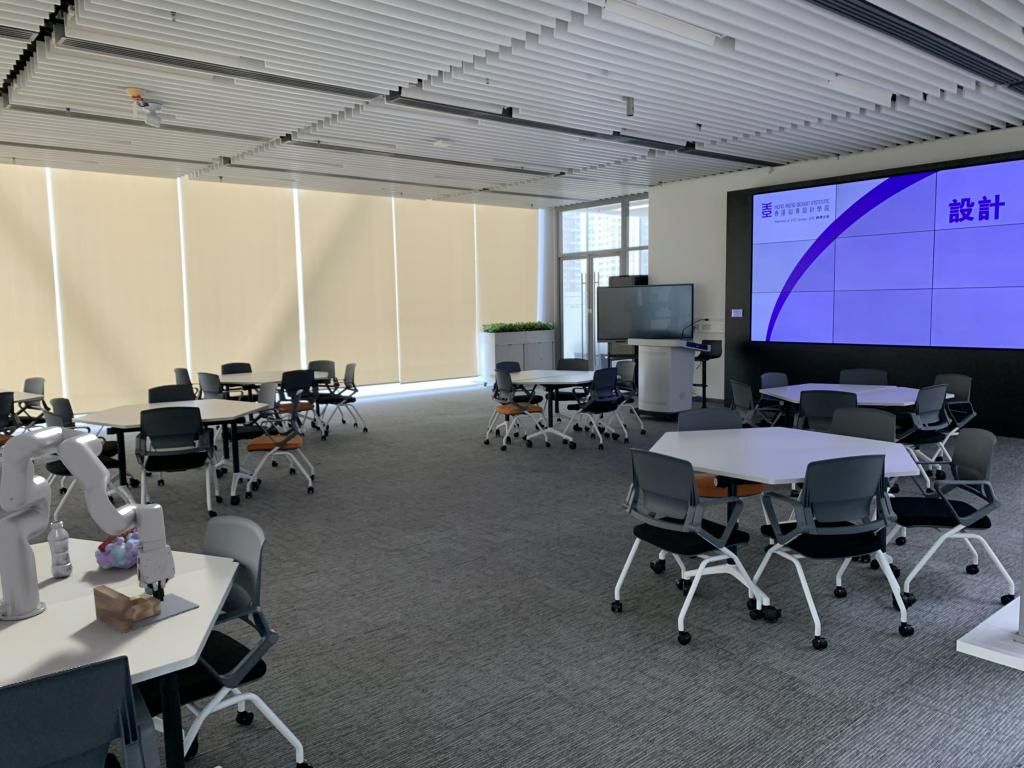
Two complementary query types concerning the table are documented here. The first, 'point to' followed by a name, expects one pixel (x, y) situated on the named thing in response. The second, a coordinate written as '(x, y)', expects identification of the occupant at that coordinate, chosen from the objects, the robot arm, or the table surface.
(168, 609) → the slate base
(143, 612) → the oak block
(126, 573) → the table surface
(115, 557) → the cotton candy cloud
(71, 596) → the table surface
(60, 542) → the plastic bottle
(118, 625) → the walnut wall
